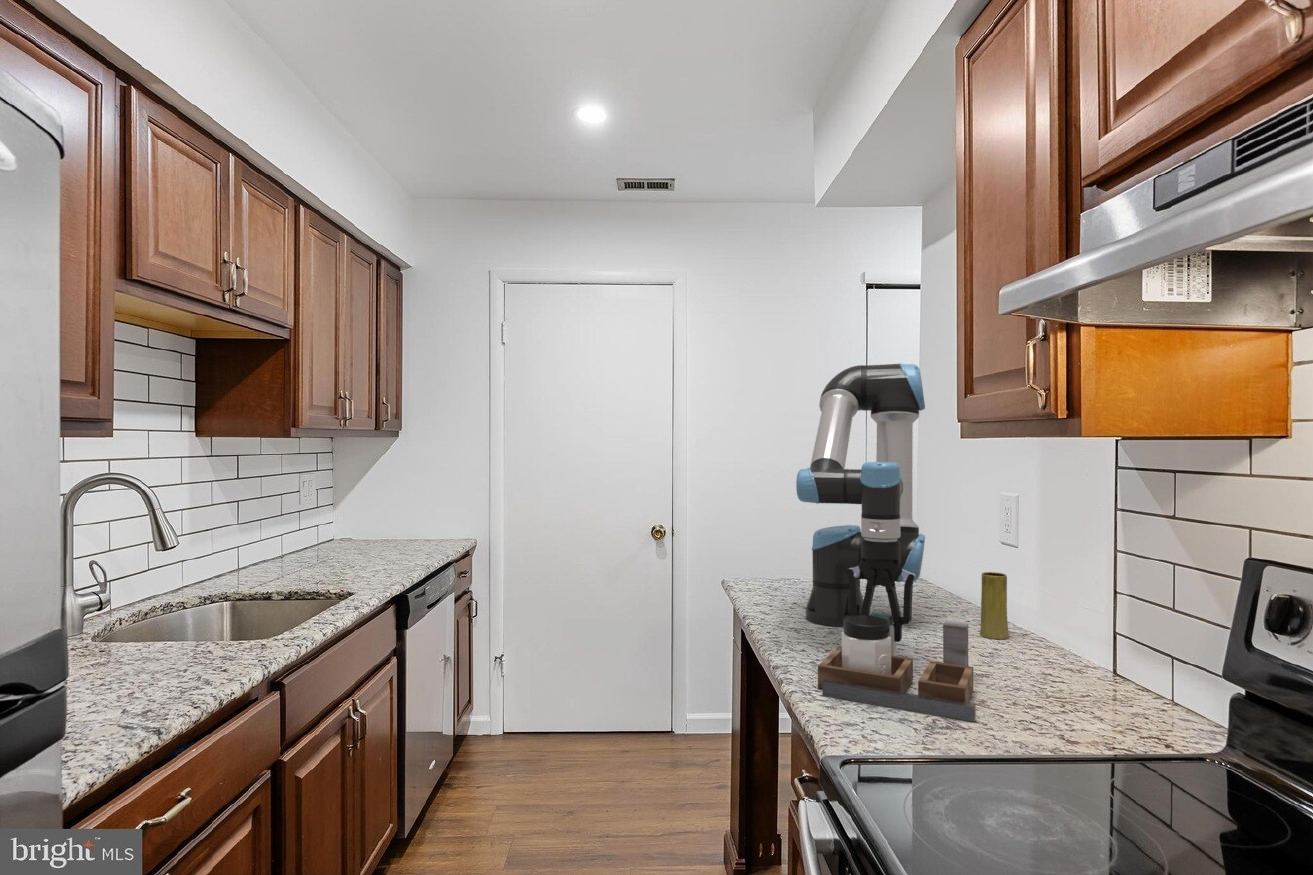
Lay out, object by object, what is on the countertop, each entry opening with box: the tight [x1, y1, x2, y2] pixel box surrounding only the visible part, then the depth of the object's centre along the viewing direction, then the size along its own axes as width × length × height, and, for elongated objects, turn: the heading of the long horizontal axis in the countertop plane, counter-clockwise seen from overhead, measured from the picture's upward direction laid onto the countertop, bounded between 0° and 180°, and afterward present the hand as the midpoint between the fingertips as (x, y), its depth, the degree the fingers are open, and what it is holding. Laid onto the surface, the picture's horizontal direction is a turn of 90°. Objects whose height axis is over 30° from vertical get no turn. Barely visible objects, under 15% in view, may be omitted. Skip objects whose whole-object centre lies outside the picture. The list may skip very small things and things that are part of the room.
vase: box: [979, 571, 1010, 640], centre depth 168 cm, size 6×6×14 cm
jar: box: [841, 615, 891, 675], centre depth 135 cm, size 9×8×12 cm
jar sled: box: [817, 611, 914, 693], centre depth 139 cm, size 21×14×10 cm
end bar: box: [821, 680, 977, 723], centre depth 124 cm, size 2×25×2 cm, turn 61°
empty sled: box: [917, 619, 974, 703], centre depth 132 cm, size 21×7×10 cm, turn 151°
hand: (880, 655), depth 146 cm, fingers closed on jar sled, 4 cm apart
